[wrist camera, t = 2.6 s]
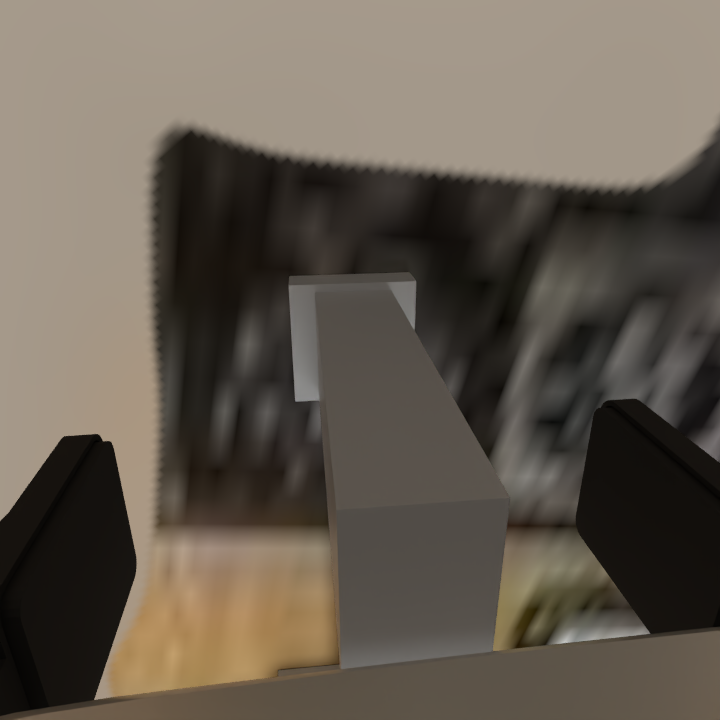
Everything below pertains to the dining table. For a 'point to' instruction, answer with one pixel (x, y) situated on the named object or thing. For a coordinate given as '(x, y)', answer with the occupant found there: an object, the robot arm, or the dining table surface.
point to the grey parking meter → (396, 478)
